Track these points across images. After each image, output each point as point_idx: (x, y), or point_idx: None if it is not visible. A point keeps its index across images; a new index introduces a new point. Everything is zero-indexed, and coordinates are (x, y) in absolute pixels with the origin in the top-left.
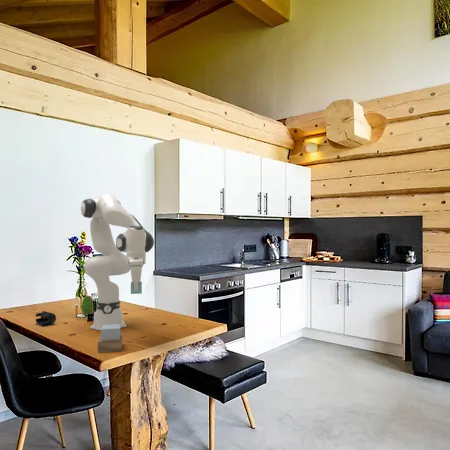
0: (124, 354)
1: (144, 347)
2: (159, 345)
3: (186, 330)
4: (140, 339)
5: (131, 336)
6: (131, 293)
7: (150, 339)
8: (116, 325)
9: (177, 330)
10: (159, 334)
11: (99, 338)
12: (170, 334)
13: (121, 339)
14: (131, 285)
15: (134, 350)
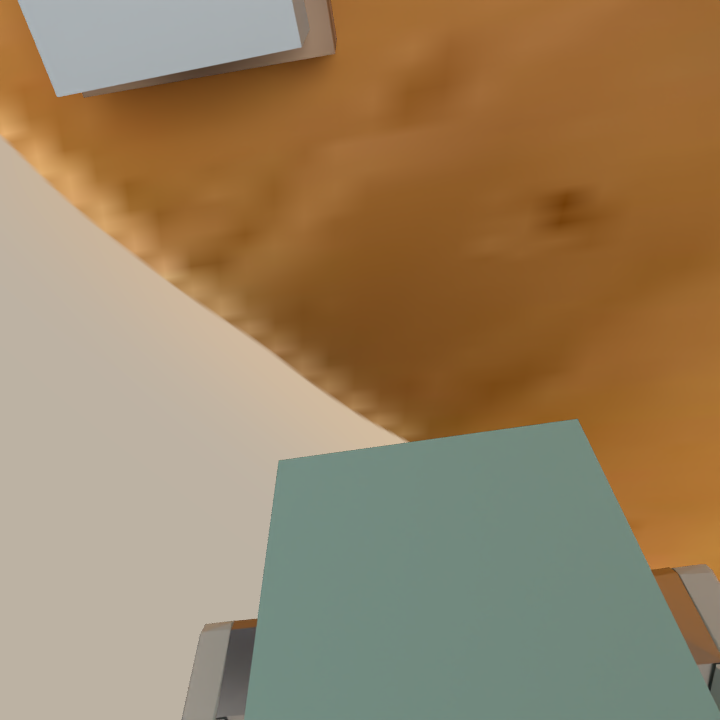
0: (23, 127)
1: (238, 266)
2: (295, 367)
3: (679, 504)
4: (489, 195)
5: (621, 82)
6: (282, 483)
7: (474, 283)
8: (210, 3)
9: (703, 451)
10: (620, 336)
11: None
12: (595, 414)
13: (112, 89)
14: (255, 698)
15: (148, 196)
